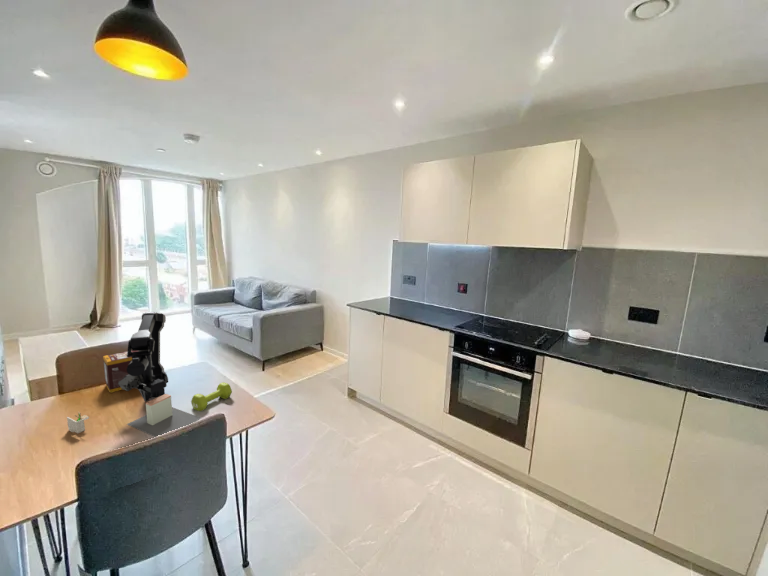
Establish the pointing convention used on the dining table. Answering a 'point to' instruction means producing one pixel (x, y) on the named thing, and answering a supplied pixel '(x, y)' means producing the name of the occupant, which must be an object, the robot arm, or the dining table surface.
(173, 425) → the mat
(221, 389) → the dumbbell
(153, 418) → the slab
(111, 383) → the supplement box
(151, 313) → the robot arm
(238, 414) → the dining table surface
